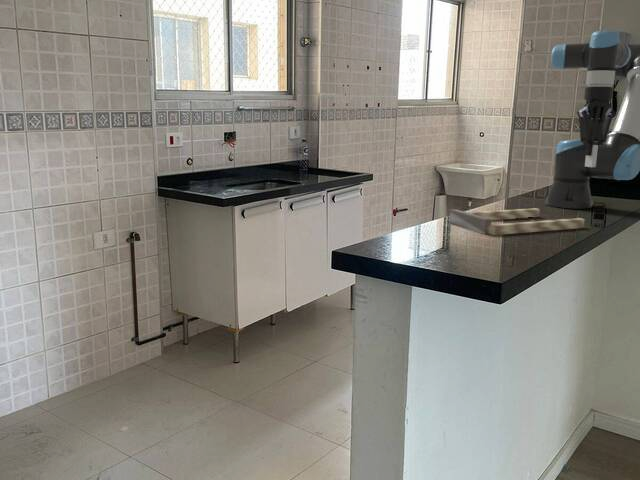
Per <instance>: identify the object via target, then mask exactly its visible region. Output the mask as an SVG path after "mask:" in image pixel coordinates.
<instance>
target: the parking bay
mask: <svg viewBox="0 0 640 480" xmlns="http://www.w3.org/2000/svg"><path fill="white" fill-rule="evenodd" d="M540 210H541V209H540V208H536V207H533V208H532V207H531V208H517V209H501V210H483V211H469V212H467V211H464V210H463V211H462V210H459V209H450V210H449V221H448V222H449V224H450V225H452V226H453V225H454V226H457V227H460V228H462V229H463V228H464V229H467V230H470V231H473V232H475V233H480V234H483V235H492V236H500V235H514V234H525V233H537V232H538V233H539V232H547V231H548V232H551V231H560V230H561V231H563V230H572V229H573V230H574V229H585V218H580V217H576V218H561V219H560V218H559V219H547V220H535V221H532V220H531V221H522V222H521V221H519V222H507V223H495V224H493V223H492V221H501V220H512V219H513V220H517V219H516V218H518V219H529V218H528V217H533V218H540Z"/></svg>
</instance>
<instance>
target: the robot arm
mask: <svg viewBox="0 0 640 480" xmlns="http://www.w3.org/2000/svg"><path fill="white" fill-rule="evenodd" d="M550 62H551V67H552V68H554V69H555V70H560V69H561V70H566V69H568V70H569V69H572V70H582V71H586V72H587V73H586V78H585V79H586V80H585V81H586V82H585V85H586V86H585V89H584V98H583V99H584V100H585V103H584V106H583V108H581V109H578V110H577V111H576V113H577V116H578V120H579V121H578V122H579V137H580V139H577V138H576V139H568V140H566V139H565V140H560V141H559V142H558V143H557V145H556V152H555V160H554V169H553V180H552V185H551V187H550V189H549V192H548V194H547V196H546V198H545V204H546V205H547V206H549V207H555V208H561V209H562V208H563V209H573V210H574V209H577V210H578V209H579V210H580V209H583V210H584V209H591V208H592V207H593V199H592V194H591V193H592V192H591V188H590V179H591V178H596V179H607V180H616V181H621V180H622V181H630V180H633V179H635V178H636V176H637V175H638V174H639V172H640V43H632V44H628V43H624V42H622V41H620V32H619V31H618V30H599V31H598V30H597V31H594V32H593V33H592V34H591V37H590V41H589V42H587V43H585V42H584V43H563V44H556V45H554V47H553V48H552V50H551V55H550ZM615 78H618V79H627V82H628V86H627V87H626V90H625V92H624V93H625V94H624V96H623V99H622V103H621V105H620V107H619V110H618V113H617V116H616V119H615V121H614V125H613V127H612V130H611V132H610V133H609V130H610V127H611V123H612V120H613V118H614V116H615V114H616V111H615V110H612V109H611V107H610V101H611V100H612V99H613V91H614V87H612V86H614V85H615Z"/></svg>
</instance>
